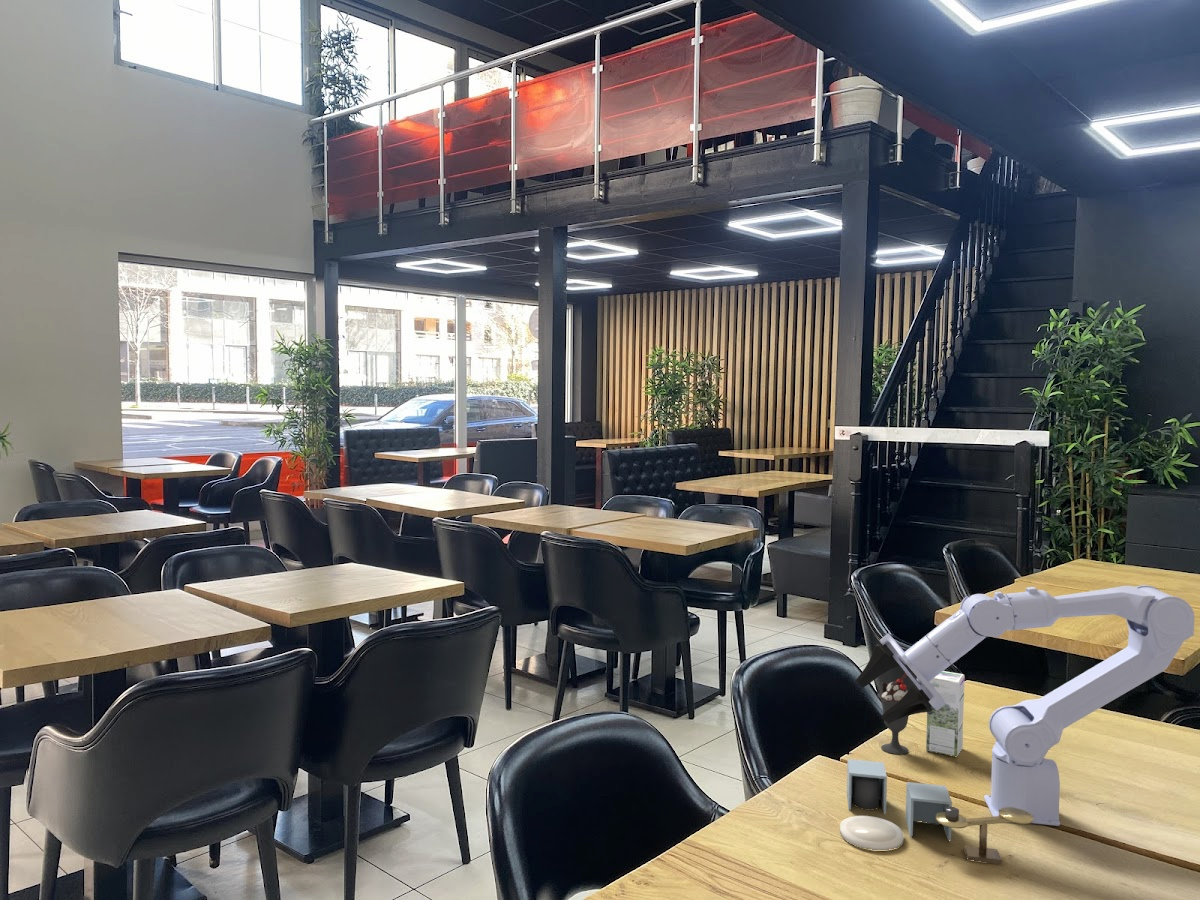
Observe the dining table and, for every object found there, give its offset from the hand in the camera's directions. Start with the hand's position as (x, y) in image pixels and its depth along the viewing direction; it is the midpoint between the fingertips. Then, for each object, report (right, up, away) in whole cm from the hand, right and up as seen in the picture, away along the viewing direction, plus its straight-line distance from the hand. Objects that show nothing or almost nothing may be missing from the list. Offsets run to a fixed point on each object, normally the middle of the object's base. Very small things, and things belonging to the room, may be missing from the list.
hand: (871, 701), depth 139 cm
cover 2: (+5, -17, -9) cm, 20 cm away
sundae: (+11, -16, +22) cm, 29 cm away
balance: (+10, -17, -17) cm, 26 cm away
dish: (-4, -17, -11) cm, 21 cm away
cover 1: (-1, -16, -1) cm, 16 cm away
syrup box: (+21, -16, +22) cm, 34 cm away
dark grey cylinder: (-1, -16, -1) cm, 16 cm away
